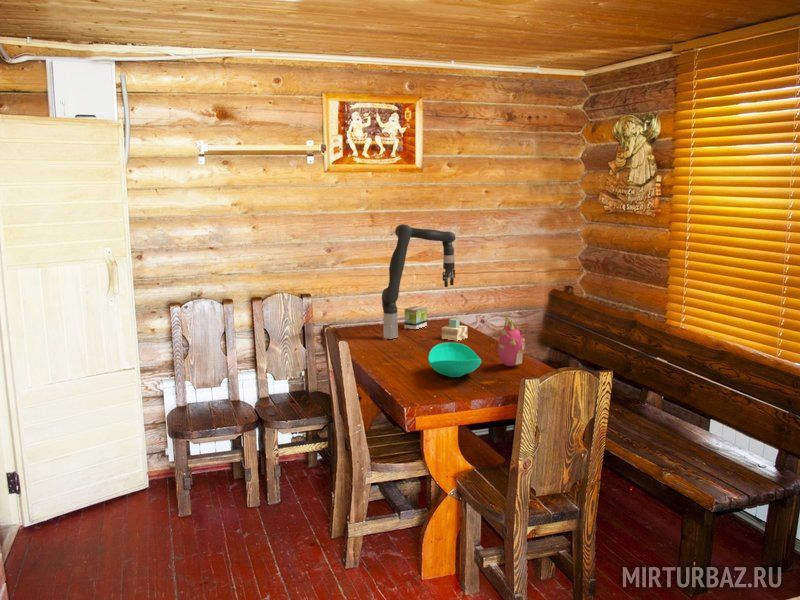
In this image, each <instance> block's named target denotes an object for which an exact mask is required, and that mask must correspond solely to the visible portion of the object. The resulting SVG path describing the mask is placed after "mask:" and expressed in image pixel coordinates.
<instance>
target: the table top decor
mask: <svg viewBox="0 0 800 600" xmlns="http://www.w3.org/2000/svg"><path fill="white" fill-rule="evenodd" d="M427 357H428V363H429V365H430V367H431V368H432V369H433V370H434V371H436V372H437V373H439V374H441V375H443V376H446V377H450V378H461V377H462V376H465V375H467V374H471V373H472V372H474V371H475V370H476V369H478V368H479V367H480V365H481V364H482V359H481V358H480V356H478V354H477V353H476V352H475V351H474V350H473V349H471V348H470V347H469V346H468V345H465V344H464V343H460V342H459V343H458V342H441V343H438V344H436V345H435V346H433V347H432V348H431V350H430V351H429V353H428V356H427Z"/></svg>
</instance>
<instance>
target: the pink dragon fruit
mask: <svg viewBox="0 0 800 600" xmlns="http://www.w3.org/2000/svg"><path fill="white" fill-rule="evenodd" d="M504 317H505V319H504V320H505V321H504V327H503V328H502V331H501V333H500V335H499V336H498V337H499V338H498V342H497V352H498V356H499V359H500V361H501V362H502V364H503V365H504V366H507V367H514V366H516V365H521V364H523V358H524V357H523V356H524V350H525V348H526V344H525V337H523V335H524V328H522V331H520V330H518V324H517V323H516V324H515V322H514V321H513V320H512V319H511V320H510V318H509V317H508V313H507V312H506V313H505V315H504Z"/></svg>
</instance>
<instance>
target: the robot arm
mask: <svg viewBox="0 0 800 600" xmlns="http://www.w3.org/2000/svg"><path fill="white" fill-rule="evenodd" d="M394 230H395V231H394V233H395V236H396V237H397V242H396V247H395V249H394V250H393V253H392V255H391V257H390V262H389V269H388V273H389V275H388V277H389V280H388V284H387V285H388V286H387V288H384V289H383V291H382V293H381V304H382V305H381V306H382V311H383V312H382V315H383V325H382V326H383V327H382V328H383V339H384V338H389V339H392V338H397V337H398V338H399V327H398V325H399V324H398V322H399V321H398V314H399V313H398V306H397V301H398V299H399V295H400V286H401V280H402V278H403V277H402V276H403V272H404V267H405V263H406V257H407V252H408V248H409V244H410V241H411V239H413V238H415V239H420V240H425V241H426V240H427V241H433V242H441V243H442V248H443V252H442V253H443V254H442V255H443V257H442V263H443V264H442V265H443V266H442V269H443V270H444V271H442V282H444V283H443V284H444V287H445V288H448V287H449V285H450V286H454V282H455V281H454V280H455V279H456V269H455V268H456V267H455V266H456V265H455V260H456V259H455V248H454V245H453V242H455V240H456V234H455V233H454V232H452V231H448V230H447V231H442V230H436V229H428V228H415V227H412V226H411V227H410V225H408V224H402V223H401V224H399V225H397V226H396V227H395V229H394Z"/></svg>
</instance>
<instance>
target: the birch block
mask: <svg viewBox="0 0 800 600" xmlns="http://www.w3.org/2000/svg"><path fill="white" fill-rule="evenodd" d="M468 335H469V333H468V326H466V325H460V324H459V327H457V328H452V327H449V324H448V325H446V326H443V327H441V340H444V339H448V340H447V341H450V340H454V341H453V342H459V341H458V340H460V341H463V340H465V338H466V339H468ZM462 339H463V340H462Z"/></svg>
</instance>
